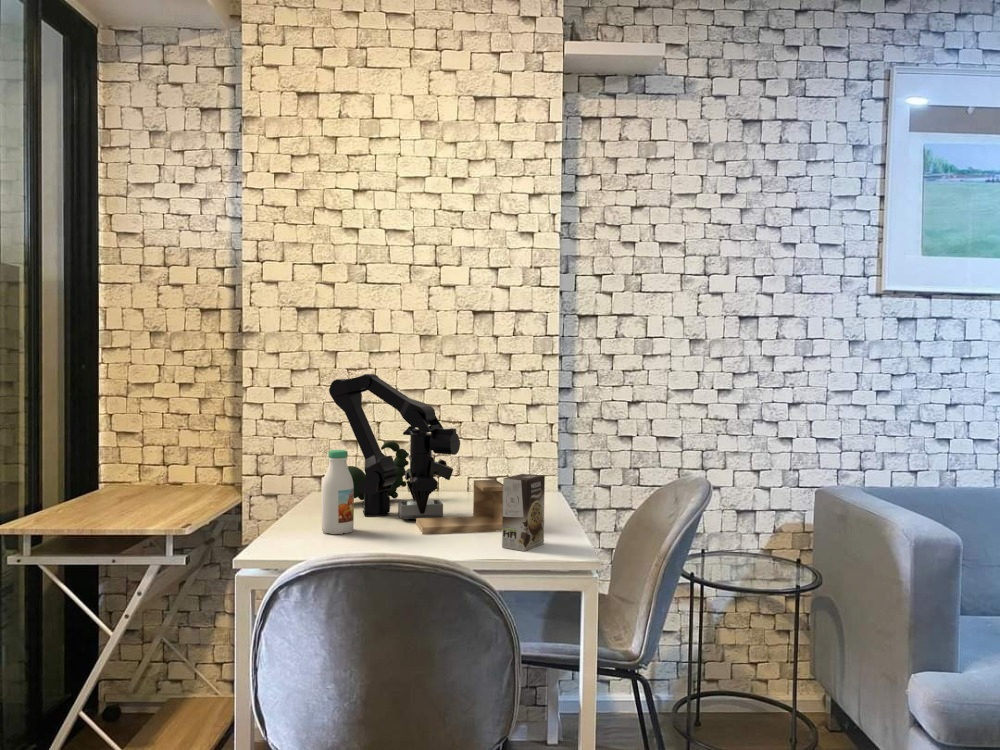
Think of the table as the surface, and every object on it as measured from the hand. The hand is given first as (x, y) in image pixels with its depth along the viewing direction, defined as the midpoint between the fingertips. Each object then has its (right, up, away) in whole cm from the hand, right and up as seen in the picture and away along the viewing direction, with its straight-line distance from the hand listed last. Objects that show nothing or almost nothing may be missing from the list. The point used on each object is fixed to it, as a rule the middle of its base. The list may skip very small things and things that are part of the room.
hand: (420, 510), depth 209 cm
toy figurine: (-18, -2, +22) cm, 28 cm away
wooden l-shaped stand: (+12, -3, -9) cm, 15 cm away
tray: (0, -1, 0) cm, 1 cm away
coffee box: (+27, -3, -28) cm, 39 cm away
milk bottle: (-19, -3, -15) cm, 24 cm away
